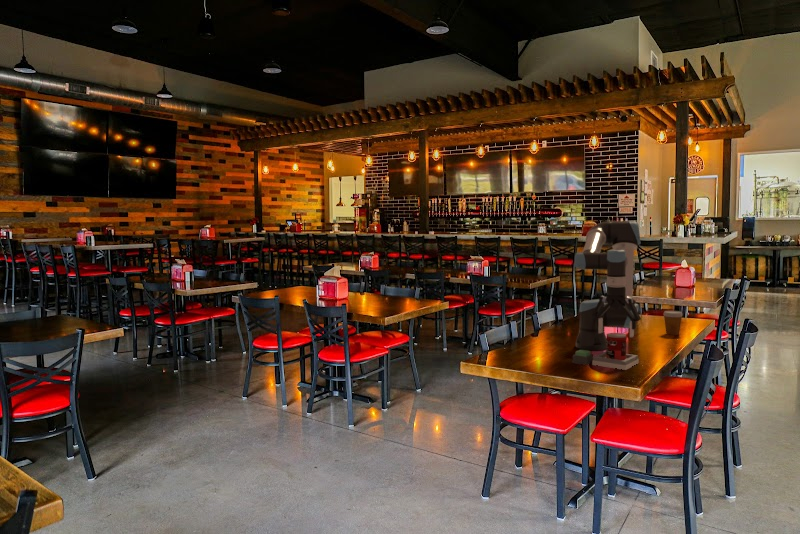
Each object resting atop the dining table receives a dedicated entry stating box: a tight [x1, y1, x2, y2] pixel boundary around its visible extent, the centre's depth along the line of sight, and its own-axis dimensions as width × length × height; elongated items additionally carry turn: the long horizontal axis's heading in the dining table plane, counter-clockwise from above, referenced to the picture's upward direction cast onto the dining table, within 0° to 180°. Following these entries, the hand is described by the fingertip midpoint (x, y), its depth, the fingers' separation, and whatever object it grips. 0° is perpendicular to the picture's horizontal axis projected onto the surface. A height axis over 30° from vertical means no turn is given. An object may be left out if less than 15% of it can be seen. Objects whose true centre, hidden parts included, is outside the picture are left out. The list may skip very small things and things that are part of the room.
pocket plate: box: [591, 351, 640, 371], centre depth 249 cm, size 14×14×4 cm
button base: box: [571, 353, 594, 366], centre depth 253 cm, size 7×7×4 cm
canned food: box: [605, 332, 627, 360], centre depth 248 cm, size 8×8×11 cm
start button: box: [574, 349, 592, 357], centre depth 253 cm, size 5×5×3 cm
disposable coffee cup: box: [662, 310, 683, 336], centre depth 309 cm, size 10×10×12 cm
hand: (615, 334), depth 249 cm, fingers open, 13 cm apart
